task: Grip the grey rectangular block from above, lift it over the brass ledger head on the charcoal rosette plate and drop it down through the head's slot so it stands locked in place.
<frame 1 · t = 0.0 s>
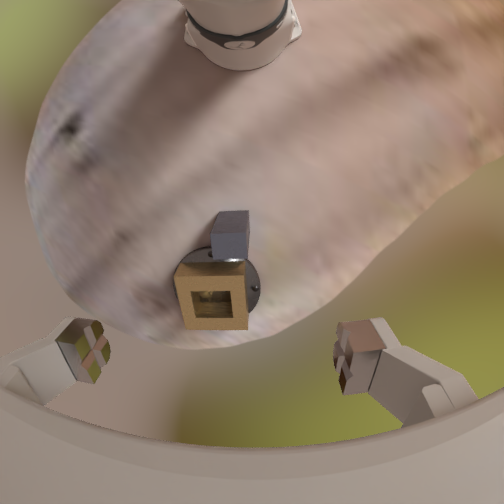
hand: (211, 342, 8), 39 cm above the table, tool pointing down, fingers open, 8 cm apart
grey rectangular block: (234, 222, 48), on the table
rosette plate: (216, 286, 53), on the table
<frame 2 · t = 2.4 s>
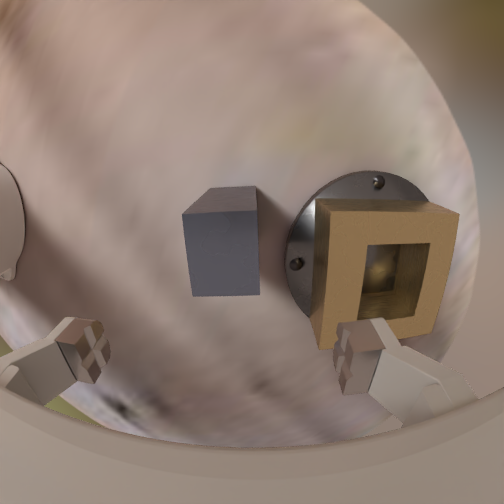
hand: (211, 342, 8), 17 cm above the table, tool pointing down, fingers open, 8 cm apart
grey rectangular block: (234, 214, 25), on the table
rosette plate: (368, 256, 26), on the table
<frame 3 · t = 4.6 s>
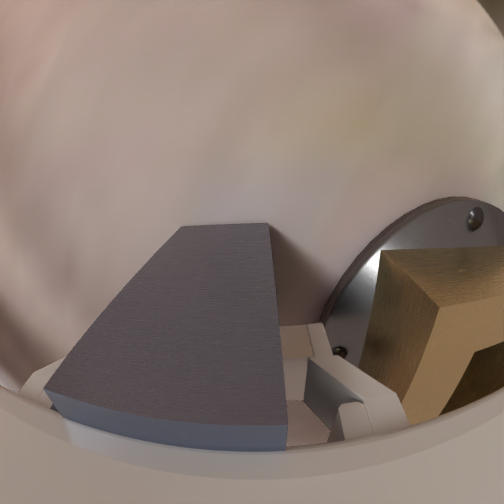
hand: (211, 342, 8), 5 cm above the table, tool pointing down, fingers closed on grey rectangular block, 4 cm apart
grey rectangular block: (227, 274, 13), on the table, touching gripper
rosette plate: (436, 327, 14), on the table
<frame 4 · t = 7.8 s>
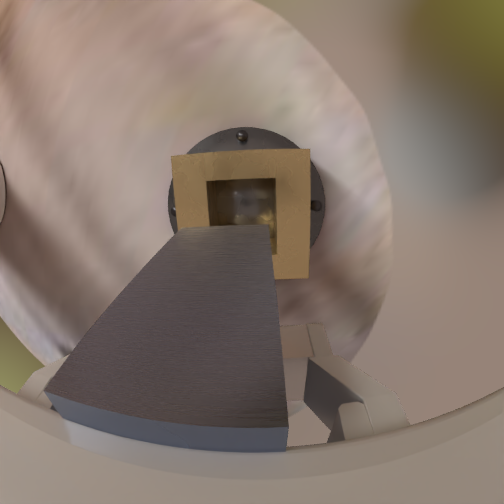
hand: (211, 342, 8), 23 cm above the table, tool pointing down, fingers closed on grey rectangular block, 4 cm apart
grey rectangular block: (227, 276, 13), point 18 cm above the table, touching gripper
rosette plate: (245, 205, 30), on the table
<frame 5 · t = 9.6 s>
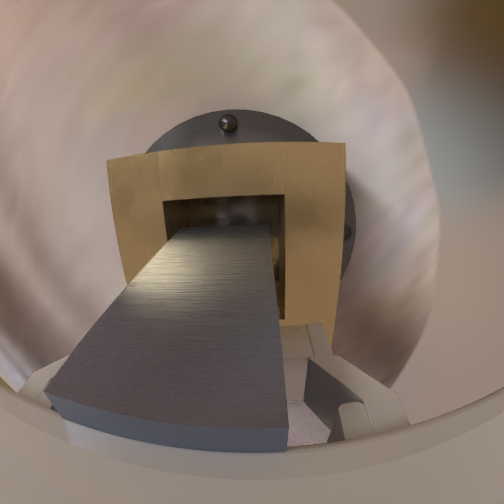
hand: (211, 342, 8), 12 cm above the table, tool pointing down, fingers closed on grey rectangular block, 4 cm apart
grey rectangular block: (227, 276, 13), point 7 cm above the table, touching gripper
rosette plate: (235, 230, 20), on the table
when the fingers open (8 cm above the table, at t = 11.2 s): grey rectangular block drops 2 cm, resting on rosette plate.
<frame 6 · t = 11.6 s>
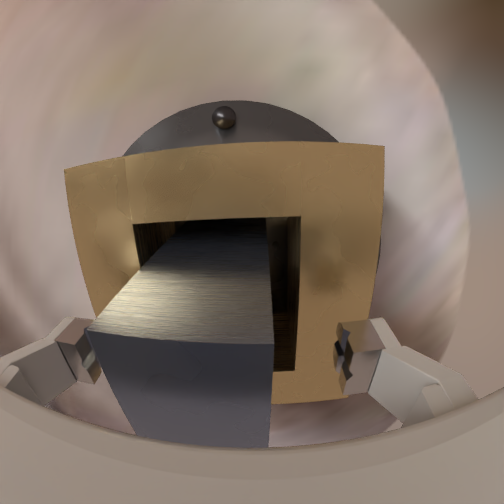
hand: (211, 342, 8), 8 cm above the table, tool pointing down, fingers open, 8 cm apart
grey rectangular block: (228, 261, 15), point 1 cm above the table, touching rosette plate
rosette plate: (234, 252, 16), on the table
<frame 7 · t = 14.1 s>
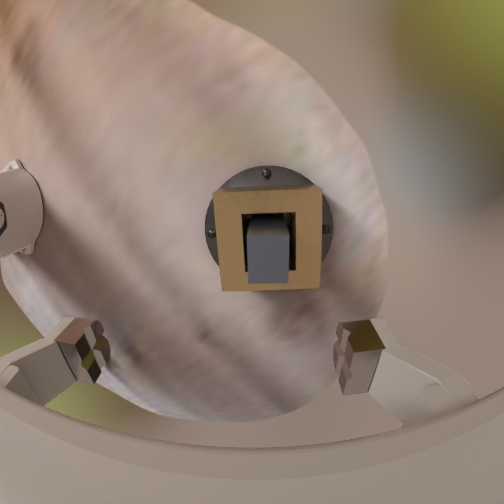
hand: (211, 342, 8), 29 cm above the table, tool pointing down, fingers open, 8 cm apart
grey rectangular block: (267, 232, 36), point 1 cm above the table, touching rosette plate
rosette plate: (268, 228, 37), on the table
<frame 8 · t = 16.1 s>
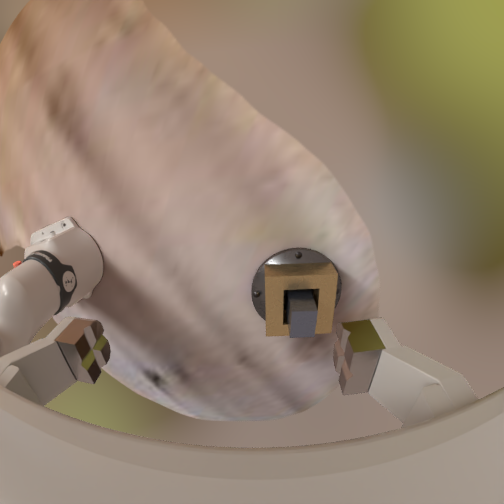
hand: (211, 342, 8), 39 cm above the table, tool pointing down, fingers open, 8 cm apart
grey rectangular block: (296, 293, 51), point 1 cm above the table, touching rosette plate
rosette plate: (296, 290, 52), on the table
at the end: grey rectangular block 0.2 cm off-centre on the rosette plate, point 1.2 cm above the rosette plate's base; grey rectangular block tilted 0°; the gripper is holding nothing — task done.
